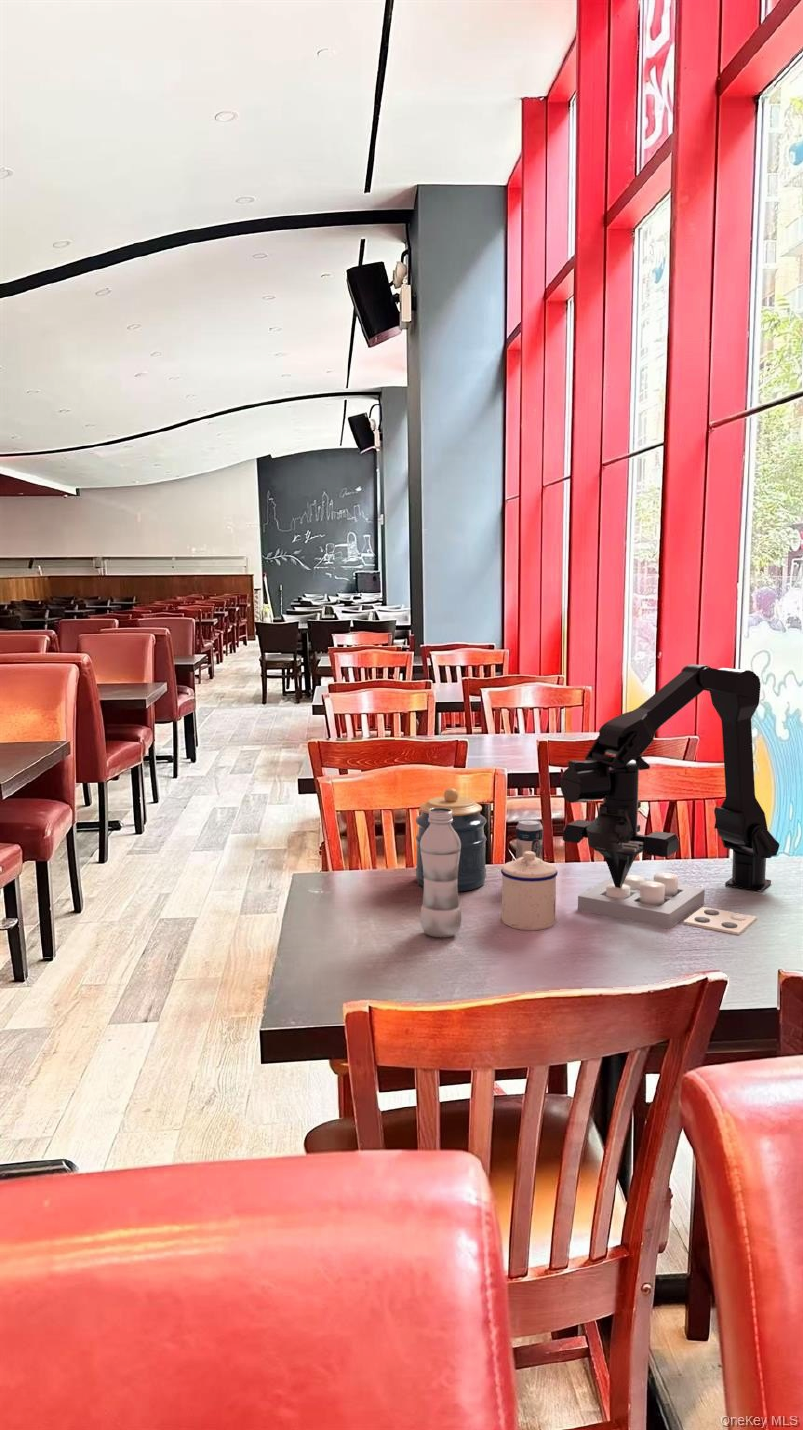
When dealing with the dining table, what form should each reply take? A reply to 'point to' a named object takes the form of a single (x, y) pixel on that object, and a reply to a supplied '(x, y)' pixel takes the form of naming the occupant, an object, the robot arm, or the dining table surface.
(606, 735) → the robot arm
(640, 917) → the board
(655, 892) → the button
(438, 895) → the plastic bottle
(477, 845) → the canister
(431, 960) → the dining table surface
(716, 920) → the card
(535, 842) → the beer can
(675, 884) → the button
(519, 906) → the teacup with lid
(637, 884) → the button
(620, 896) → the button
